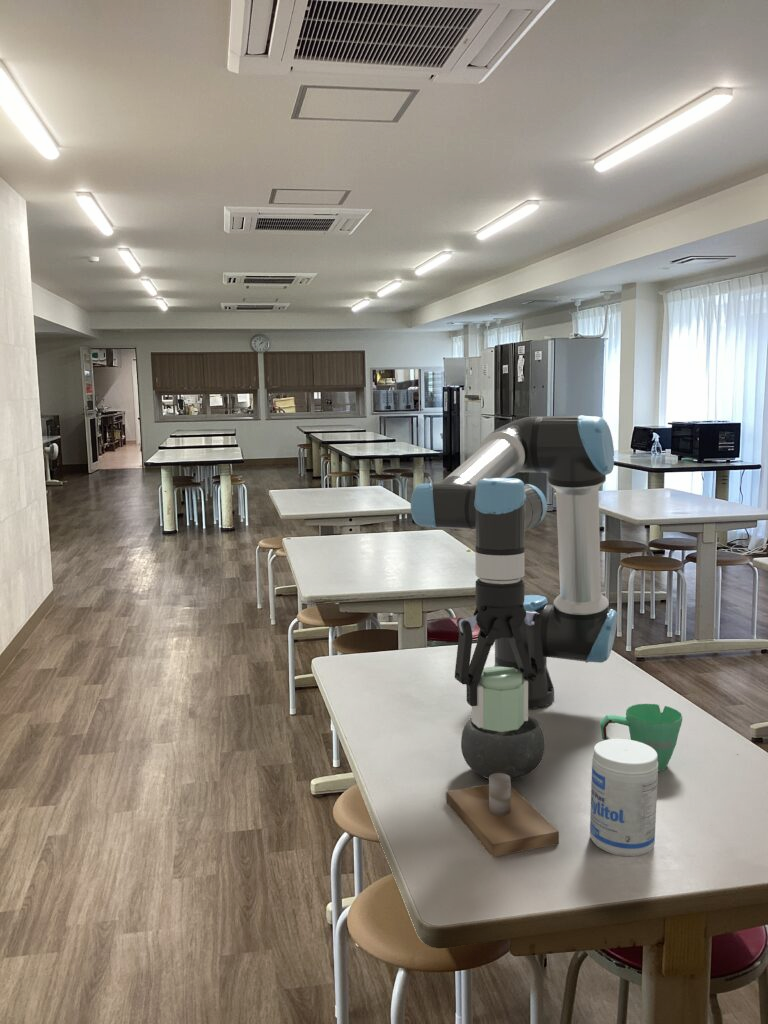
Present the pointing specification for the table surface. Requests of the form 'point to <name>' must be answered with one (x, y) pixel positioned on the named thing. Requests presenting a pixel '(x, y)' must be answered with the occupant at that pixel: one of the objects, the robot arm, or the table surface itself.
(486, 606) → the robot arm
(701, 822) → the table surface
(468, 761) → the bowl
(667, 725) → the mug
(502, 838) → the stud block
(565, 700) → the table surface
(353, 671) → the table surface
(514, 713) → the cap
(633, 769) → the supplement tub
